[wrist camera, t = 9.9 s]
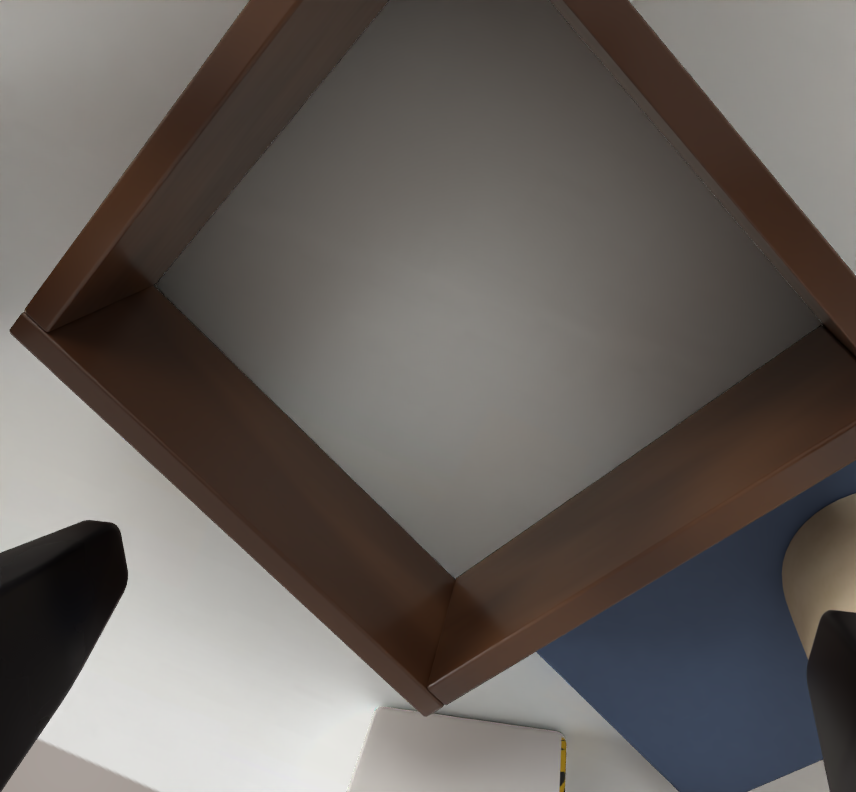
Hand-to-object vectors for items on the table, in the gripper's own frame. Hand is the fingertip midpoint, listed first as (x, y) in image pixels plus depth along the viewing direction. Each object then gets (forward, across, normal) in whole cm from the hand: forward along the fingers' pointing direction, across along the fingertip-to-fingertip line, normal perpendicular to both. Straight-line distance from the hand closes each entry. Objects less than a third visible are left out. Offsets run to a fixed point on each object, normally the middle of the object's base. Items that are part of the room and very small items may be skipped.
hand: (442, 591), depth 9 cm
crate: (+12, +2, 0) cm, 12 cm away
